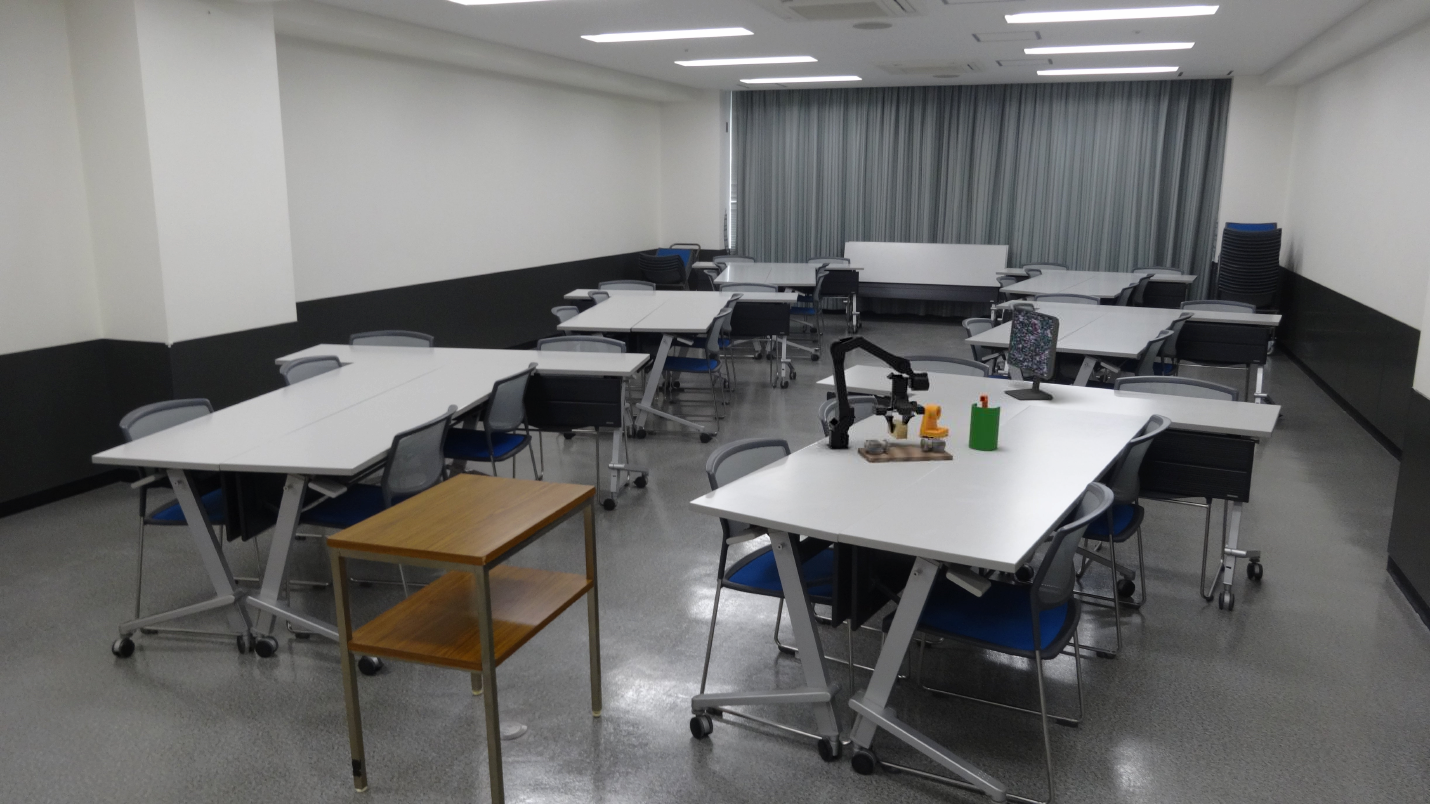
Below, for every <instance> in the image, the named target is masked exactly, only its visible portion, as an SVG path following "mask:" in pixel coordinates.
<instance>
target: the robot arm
mask: <svg viewBox="0 0 1430 804" xmlns="http://www.w3.org/2000/svg"><path fill="white" fill-rule="evenodd" d="M858 348H860V349H862V350H863V351H865V352H867V353H869V354H871V355H872V356H874V357H876V358H878V359H879V360H881V361H883V362H884V363H885V364H886V365H887V366H888V367H890V369H892V370H893V371H895V372H897V373H898V374H897V373H894V372H892V371H890V373H889V374H888V375H886V378H887V379H888V380H891V392H890V393H889V394H890V395H889V396H890V403H889V407H887V406H884V405H883V404H874V405H873V406H871V413H872V414H873V415H875V416H879V417H880V416H881V417H882V416H883V417H884V418H885V421H886V423H887V427H888V426H889V429H890V432H891V433H893V419H895V418H894V417H895V416H894V415H893V413H897V414H898V415H899V416H901V421H902V422H903V423H905V424H907V425H908V424H909V422H910V421H911V419H912V418H915V417H916V415H919V416H921V415H922V416H923V415H924V414H925V406H923V405H922V404H920V403H918V401H917V400H911V401H910V400H909V399H910V397H909V394H908V388H909V389H910V390H911V392H928V391H929V390H930V379H929V373H928V372H926V371H925V372H924V371H923V372H914V370H913V369H912V367H911V366H912V364H911V361H910V360H909V359H907V358H906V357H903V356H902V355H898V354H895V353H893V352H889V351H887V350H886V349H883V348H882V347H880V346H878V345H876V344H875V343H873V342H871V341H869V340H867V339H866V338H864V337H863V336H862V335H860V334H855V335H852V336H847V337H843V338H839V339H836V338H831V339H829V340H828V341H827V342H826V344H825V351H826V353H827V357H828V359H829V362H830V364H831V370H832V378H833V386H834V392H835V402H836V403H835V409H834V417H832V419H830V420H829V421H828V427H829V430H828V443H826V445H827V446H828V447H829V448H830V449H832V450H836V449H837V450H838V449H839V450H842V449H849V447H850V446H849V445H850V435H849V430H850V428H851V427H852V426H853V424H854V423H855V419H856V415H855V407H854V406H853V405H851V404H850V403H849V398H848V390H847V389H848V388H847V382H846V372H845V360H846V353H848V352H851V351H853V350H856V349H858ZM904 375H906V376H904ZM915 414H916V415H915Z"/></svg>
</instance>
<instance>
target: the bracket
mask: <svg viewBox="0 0 1430 804" xmlns="http://www.w3.org/2000/svg"><path fill="white" fill-rule="evenodd" d="M924 408H925V414H924V415H922V419H921V423H920V428H919V436H922V437H926V436H927V437H926V438H931V437H933V438H941V439H944V438H946V437H947V435H949V431H950V428H948V427H945V426H944V427H943V426H938V422H937V421H939V420H940V418H941V415H942V407H941V405H936V404H926V405H925V406H924ZM945 436H946V437H945Z"/></svg>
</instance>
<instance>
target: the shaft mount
mask: <svg viewBox="0 0 1430 804" xmlns="http://www.w3.org/2000/svg"><path fill="white" fill-rule="evenodd" d="M919 443H920V444H919V445H920V446H919V445H918V446H917V445H916V446H915V445H914V446H891V444H890V441H889V439H887V438H886V439H885V438H884V439H883V440H882V441H880V440H878V439H866V440H865V441H864V443H863V444H864V445H863V446H864V447H858V448H857V453H858V454H859V455H860V454H861V457H863V459H865V458H866V459H867V460H866V461H868V462H869V463H870V462H872V463H890V462H889V461H903V462H926V461H928V462H930V460H934V461H953V460H954V455H953V454H951V453H949V452H948V451H947V450H945V449H946V446H947V442H946V440H945V439H942V438H941V439H940V438H931V437H925V438H923V437H921V439H920V442H919Z"/></svg>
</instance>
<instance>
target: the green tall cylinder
mask: <svg viewBox="0 0 1430 804" xmlns="http://www.w3.org/2000/svg"><path fill="white" fill-rule="evenodd" d="M979 402H981V406H978V402H974V403H972V404H971V409H970V423H969V437H968V447H969V448H970V449H974V450H978V451H995V450H997V449H998V445H999V444H998V443H999V430H1000V429H999V428H1000V419H1001V417H1000V416H1001V406H996V407H989V397H988V395H987V394H981V395H980V396H979Z"/></svg>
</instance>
